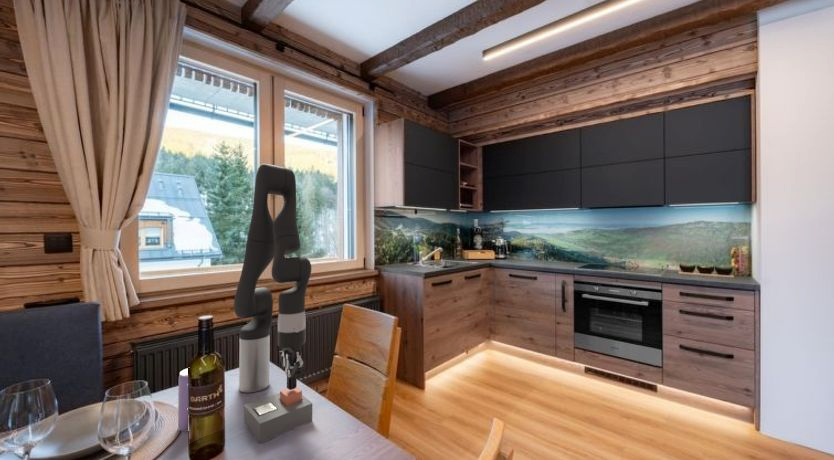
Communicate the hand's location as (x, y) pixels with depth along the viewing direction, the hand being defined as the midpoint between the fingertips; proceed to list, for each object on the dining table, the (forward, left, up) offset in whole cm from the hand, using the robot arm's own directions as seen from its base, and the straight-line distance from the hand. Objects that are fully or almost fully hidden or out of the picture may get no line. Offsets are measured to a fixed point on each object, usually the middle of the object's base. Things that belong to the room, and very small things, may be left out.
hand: (291, 388), depth 93 cm
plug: (0, -7, -8) cm, 10 cm away
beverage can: (-15, -21, -8) cm, 27 cm away
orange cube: (0, 0, -5) cm, 5 cm away
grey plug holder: (0, -4, -8) cm, 9 cm away
